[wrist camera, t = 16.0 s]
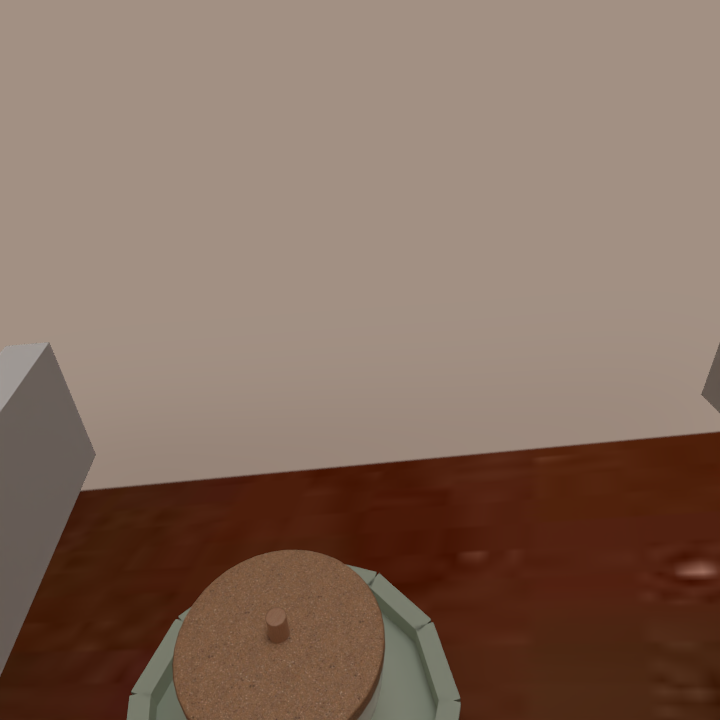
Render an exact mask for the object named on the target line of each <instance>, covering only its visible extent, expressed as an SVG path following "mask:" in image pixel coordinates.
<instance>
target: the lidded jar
mask: <svg viewBox="0 0 720 720" xmlns="http://www.w3.org/2000/svg"><path fill="white" fill-rule="evenodd" d="M384 655H385V630H384V623H383V618H382V613H381V610H380V607H379V605H378V602H377V600H376V598H375V596H374V594H373V593H372V591H371V589H370V588H369V586H368V585H367V584H366V583H365V581H364V580H363V579H362V578H361V577H360V576H359V575H358V574H357V573H356V572H355V571H353V570H352V569H351V568H350V567H349V566H347V565H345V564H343V563H342V562H340V561H338V560H337V559H334V558H332V557H329V556H327V555H324V554H320V553H316V552H312V551H304V550H281V551H275V552H270V553H266V554H262V555H259V556H255V557H253V558H250V559H248V560H246V561H244V562H241V563H240V564H238V565H236V566H234V567H233V568H231V569H229V570H227V571H226V572H225V573H224V574H222V575H221V576H220V577H218V578H217V579H216V580H215V581H214V582H213V583H211V584H210V585H209V586H208V587H207V588H206V589H205V590H204V591H203V593H202V594H201V595H200V596H199V598H198V599H197V600H196V601H195V603H194V604H193V605H192V607H191V609H190V610H189V612H188V614H187V615H186V617H185V619H184V621H183V623H182V626H181V628H180V630H179V633H178V636H177V640H176V644H175V647H174V654H173V663H172V668H173V683H174V687H175V691H176V696H177V699H178V701H179V704H180V706H181V708H182V710H183V713H184V715H185V717H186V719H187V720H371V719H372V717H373V714H374V712H375V709H376V706H377V702H378V698H379V694H380V690H381V684H382V675H383V663H384Z"/></svg>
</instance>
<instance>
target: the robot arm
mask: <svg viewBox="0 0 720 720" xmlns="http://www.w3.org/2000/svg"><path fill="white" fill-rule="evenodd" d="M702 396H703V397H704V398H705V399H707V400H708V402H709V403H710V404H711V405H712V406H713V407H714V408H715V409H716V410H717V411H719V413H720V344H719V347H718V350H717V352H716V355H715V358H714V361H713V364H712V366H711V369H710V372H709V375H708V377H707V380H706V383H705V386H704V389H703V391H702ZM95 455H96V454H95V451H94V449H93V447H92V444H91V442H90V439H89V437H88V435H87V432H86V430H85V427H84V425H83V423H82V420H81V418H80V415H79V413H78V410H77V408H76V406H75V403H74V401H73V399H72V396H71V394H70V391H69V389H68V387H67V384H66V382H65V379H64V377H63V374H62V372H61V370H60V367H59V365H58V362H57V360H56V357H55V355H54V353H53V350H52V348H51V345H50V343H49V342H47V343H35V344H24V345H13V346H6V347H5V348H4V349H3V350H2V352H1V353H0V675H1V673H2V671H3V668H4V666H5V664H6V661H7V659H8V657H9V654H10V652H11V650H12V648H13V645H14V643H15V641H16V638H17V636H18V634H19V631H20V629H21V627H22V624H23V622H24V620H25V617H26V615H27V613H28V610H29V608H30V606H31V603H32V601H33V599H34V597H35V594H36V592H37V590H38V587H39V585H40V583H41V580H42V578H43V576H44V573H45V571H46V569H47V566H48V564H49V562H50V559H51V557H52V555H53V553H54V550H55V548H56V546H57V543H58V541H59V539H60V536H61V534H62V532H63V529H64V527H65V525H66V522H67V520H68V518H69V515H70V513H71V511H72V509H73V506H74V504H75V502H76V499H77V497H78V495H79V492H80V490H81V487H82V485H83V483H84V481H85V478H86V476H87V473H88V471H89V469H90V467H91V465H92V462H93V460H94V457H95Z"/></svg>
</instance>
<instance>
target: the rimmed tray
mask: <svg viewBox="0 0 720 720" xmlns="http://www.w3.org/2000/svg"><path fill="white" fill-rule="evenodd" d="M347 566H349V565H347ZM349 567H350V568H351V569H352V570H353V571H355V572H356V573H357V574H358V575H359V576H360V577H361V578H362V579H363V580H364V581H365V583H366V584H367V585H368V586H369V588H370V589H371V591H372V593H373V594H374V596H375V598H376V600H377V602H378V605H379V607H380V610H381V613H382V618H383V623H384V630H385V655H384V663H383V675H382V684H381V690H380V694H379V698H378V702H377V706H376V709H375V712H374V714H373V717H372V719H371V720H459V715H460V706H461V703H460V696H459V693H458V690H457V688H456V685H455V682H454V679H453V676H452V674H451V671H450V668H449V665H448V662H447V660H446V657H445V654H444V651H443V648H442V646H441V643H440V640H439V637H438V634H437V632H436V629H435V626H434V623H433V622H432V623H431V619H430V618H429V617H428V616H427V615H426V614H424V613H423V612H422V611H421V610H420V609H419V608H418V607H417V606H415V605H414V604H413V603H412V602H411V601H410V600H409V599H408V598H406V597H405V596H404V595H403V594H402V593H401V592H400V591H399V590H397V589H396V588H395V587H394V586H393V585H392V584H391V583H389V582H388V581H387V580H386V579H385V578H384V577H383V576H382V575H380V574H378V575H377V572H374V571H370V570H366V569H362V568H358V567H354V566H349ZM190 609H191V608H189V609H188V610H186V611H185V612H184V613H182V614H181V615H179V619H180V620H178V619H176V620H175V621H174V623H173V624H172V626H171V628H170V629H169V631H168V633H167V634H166V636H165V637H164V639H163V641H162V642H161V644H160V646H159V647H158V649H157V650H156V652H155V654H154V655H153V657H152V659H151V660H150V662H149V663H148V665H147V667H146V668H145V670H144V671H143V673H142V675H141V676H140V678H139V680H138V681H137V683H136V684H135V686H134V688H133V689H132V691H131V693H132V695H131V696H129V705H128V714H127V720H187V719H186V717H185V715H184V713H183V710H182V708H181V706H180V704H179V701H178V699H177V696H176V691H175V687H174V683H173V668H172V663H173V654H174V647H175V644H176V640H177V636H178V633H179V630H180V628H181V626H182V623H183V621H184V619H185V617H186V615H187V614H188V612H189V610H190Z"/></svg>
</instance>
